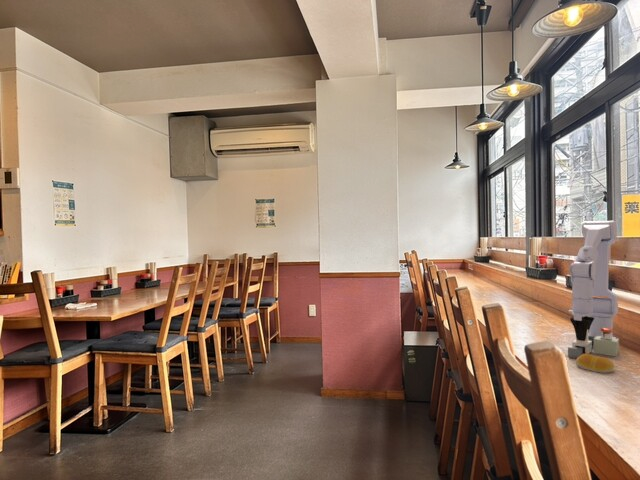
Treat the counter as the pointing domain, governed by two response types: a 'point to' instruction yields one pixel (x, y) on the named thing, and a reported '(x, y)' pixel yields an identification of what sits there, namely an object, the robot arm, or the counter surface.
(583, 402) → the counter surface
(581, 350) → the rail
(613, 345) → the box
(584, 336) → the robot arm
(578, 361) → the bread roll
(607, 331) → the red push knob
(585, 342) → the carriage
